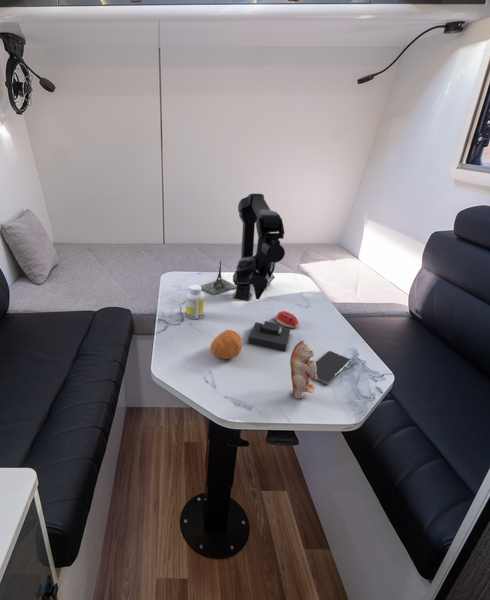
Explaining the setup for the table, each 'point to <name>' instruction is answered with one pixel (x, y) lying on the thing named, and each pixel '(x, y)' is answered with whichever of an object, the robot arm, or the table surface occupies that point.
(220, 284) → the eiffel tower figurine
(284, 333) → the notched pad
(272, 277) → the mineral specimen
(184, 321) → the table surface
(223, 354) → the potato
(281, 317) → the ladybug figurine
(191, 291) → the pill bottle
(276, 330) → the black block
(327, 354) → the smartphone
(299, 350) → the figurine
